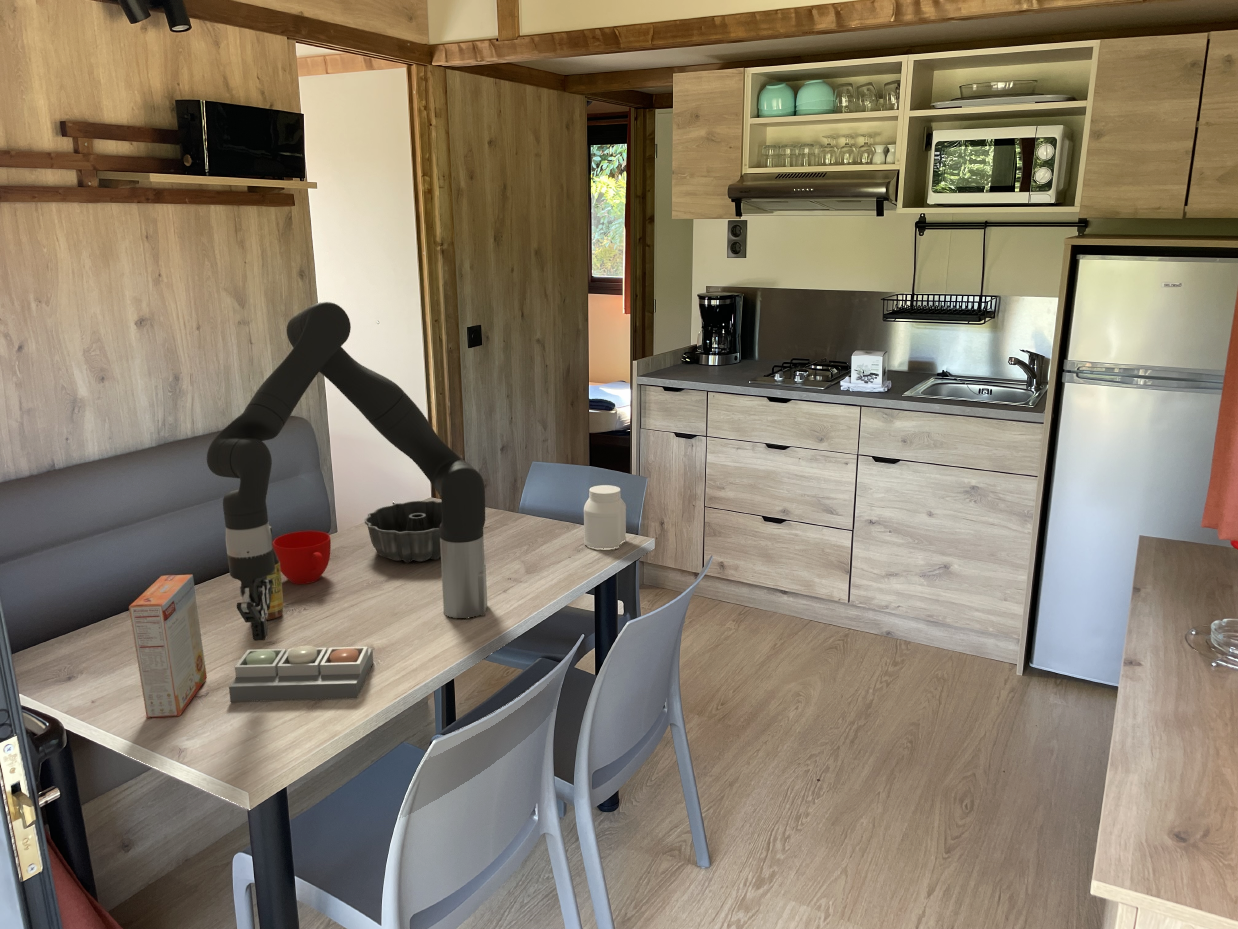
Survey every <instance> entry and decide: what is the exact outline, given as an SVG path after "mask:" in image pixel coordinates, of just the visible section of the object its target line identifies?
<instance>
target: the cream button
mask: <svg viewBox="0 0 1238 929" xmlns="http://www.w3.org/2000/svg"><path fill="white" fill-rule="evenodd" d="M316 648H317V647H316V646H314V645H300V646H295V647H293V648H290V649H291V650H290V651H289V652H288V661H289V663H290V664H309V663H312V662H314V661H315V660H316V659H317V649H316Z"/></svg>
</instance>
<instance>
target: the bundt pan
mask: <svg viewBox="0 0 1238 929" xmlns="http://www.w3.org/2000/svg"><path fill="white" fill-rule="evenodd" d="M441 523H442V502H441V501H437V500H433V499H431V500H411V501H406V502H402V503H401V502H399V503H398V502H397V503H396V502H395V503H394V504H391V505H385V506H382V507H380V508H376V509H375V510H374V511H373V512H370V513H367V516H366V518H364V524H365V525H366V526H367V530H368V533H369V538H370V541H371V545H372V547H373V548H374V550H375V552H376V553H378V555H379V556H380V557H383V558H385V559H390V560H392V561H402V560H403V561H404V563H407V562H408V563H410V562H412V561H413V560H414V561H417V562H426V561H427V560H429V559H431V560H433V559H435V560H434V561H436V560H438V559H440V558H441V550H440V531H439V527H440V524H441Z"/></svg>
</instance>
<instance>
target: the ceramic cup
mask: <svg viewBox="0 0 1238 929" xmlns="http://www.w3.org/2000/svg"><path fill="white" fill-rule="evenodd" d="M272 544H273V548H274V550H275V553H276V555H277V557H278V559H279V561H280V569H281V575H283V576H284V577H285V578H286V579H288V580H289V581H290V582H291V583H292V584H295V585H305V584H306V585H307V584H311V583H315V582H317V581H319V579H320V578H321V576H323V574H324V573H325V571H326V569H327V567H328V566H329V562H330V559H331V549H332V548H331V546H332V544H331V536H330V534H329V533H327V532H324V531H318V530H303V531H302V530H301V531H294V532H289V533H285V534H282V535H280V536H278V537H276V538H275V539H274V540H272Z"/></svg>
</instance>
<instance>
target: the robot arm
mask: <svg viewBox="0 0 1238 929" xmlns="http://www.w3.org/2000/svg"><path fill="white" fill-rule="evenodd" d="M350 333H351V320H350V317H349V315H348V314H347V312H346V310H344V308H343V307H342V306H340V305H339V304H336V303H335V302H331V301H322V302H317V303H315V304H311V305H309V307H306V308H305V309H304V310H301V312H299V313H297V314H296V315H294V316H293V317H292V318H290V320H288V322H287V325H286V336H287V339H288V342H289V344H290V345H291V347H292V349H291V351H290V352H289V353H288V354H287V356H286V357H285V358H284V359H283V361H281V363H280V364H279V365H278V366H277V367H276V368H275V369H274V370H273V371H272V372H271V374H270V375H269V376H268V377H267V378H266V379H265V380H264V382H262V384H261V385H260V386H259V387H258V389H257V391H256V392H255V393H254V395H253V397H252V398H251V399H250V401H249V402H248V404H247V406H246V407H245V409H244V410H243V412H242V413H241V414H240V415H238V416H237V417H236V418H234V420H232V421H231V422H230V423H229V424H228V425H227V426H226V427H224V429H222V430H221V431H220V432H219V433H218V434H217V435H216V436H215V437H214V439H213V440H212V441H211V443H210V444H209V447H208V449H207V453H206V464H207V467H208V469H209V470H210V471H211V473H213V474H214V475H216V476H218V477H222V478H232V479H239V480H240V481H239V488H238V489H234V490H231V491H229V492H227V493H226V494H225V495H224V496H223V498H222V509H223V516H224V526H225V546H226V553H227V554H226V555H227V563H228V569H229V575H230V577H231V578H232V579H235V580H237V581H239V582H240V586H239V594H240V597H241V598H242V601H241V602H237V603H236V609H237V611H238V613H239V615H240V616H241V617H242V619H243V621H244V623H248V624H249V623H250V625H251V633H252V640H253V641H257V642H258V641H260V642H261V641H265V640H266V638H268V636H269V633H268V623H267V620H266V617H267V615H268V613H267V610H270V603H271V593H272V584H273V580H272V579H267V576H268V575H270V574H271V573H273V572H274V570H275V563H274V554H273V545H272V544H273V537H272V534H271V531H270V527H269V526H270V524H269V523H270V522H269V516H268V515H269V514H268V508H267V506H268V505H267V495H268V491H269V490H268V489H269V484H270V483H269V482H270V476H271V472H272V462H273V460H272V454H271V451H270V450H269V448H268V446H267V445H266V444H265V442H264V441H269V440H273V439H275V438H276V437H277V436H279V434H280V432H281V431H282V430H283V428H284V427H285V425H286V423H287V422H288V420H289V419H290V417H291V415H292V413H293V412H294V410H295V409H296V407H297V405H298V403H299V402H300V400H301V399H302V397H303V395H304V394H305V392H306V391H307V389H308V388H309V386H310V385H311V384H312V382H313V381H314V379H315V378H316V377H317V375H318V374H319V373H320V374H321V375H322V376H324V377H325V378H326V379H327V380H328V381H329V382H330V383H332V385H334V387H335V388H336V389H338V390H339V392H340V393H341V394H342V395H343V396H344V397H345V398H346V399H348V401H349V402H350V403H351V404H352V405H353V406H355V408H356V409H357V410H358V411H359V412H360V413H361V415H363V417H364V418H365V419H366V420H367V421H368V422H369V423H370V424H371V425H372V427H373V428H375V429H376V431H378V433H380V435H381V436H382V437H383V438H385V439H386V441H388V442H389V443H390V444H392V446H394V447H395V448H396V449H397V450H399V451H400V452H401V453H403V454H404V455H405V456H407V457H408V458H409V459H410V460H412V462H414V463H415V465H417V467H418V468H419V469H420V470H421V472H422V473H423V474H424V475H425V477H426V478H427V479H428V481H429V482H430V484H431V485H432V486H433V488H434V490H435V491H436V493H437V494H438V495H439V497H440V502H442V523H441V524H440V527H439V531H440V550H441V556H440V566H441V568H440V569H441V585H442V586H441V587H442V606H443V613H444V615H445V616H446V615H447V617H448V616H449V618H451V617H453V618H452V619H457V618H466V619H469V618H468V617H473V616H476V617H479V616H478V615H481V616H486V613H487V609H486V608H488V588H487V585H488V584H487V566H486V564H485V543H484V542H485V541H484V526H485V524H486V489H485V488H486V487H485V481H484V479H483V476H482V474H480V472H479V471H478V470H477V469H475V468H474V467H473V466H472V465H471V464H470V463H469V462H467V461H466V460H464V459H463V458H462V457H461V456H460V455H458V454H457V453H456V452H455V451H454V450H453V449H452V448H450V447H449V446H448V444H446V443H445V442H444V441H443V440H442V439H441V438H440V437H439V435H438V434H437V433H436V431H435V430H434V428H433V426H432V425H431V423H430V422H429V421H428V419H427V417H426V416H425V415H424V413H423V411H422V410H421V409H420V408H419V406H418V405H417V404H416V403H415V402H414V400H412V398H411V397H410V396H409V395H408V394H407V393H406V392H405V390H403V388H401V387H400V386H399V385H398V384H397V383H396V382H394V381H392V380H391V379H389V378H387V377H386V376H384V375H382V374H380V373H378V372H376V371H374V370H372V369H370V368H369V367H366V366H364V365H362V364H361V363H359V362H358V361H357V360H356V359H354V358H353V357H352V356H351V355H350V354H349V353H348V352H347V351H346V350H345V349H344V348H343V345H344V344H345V343H346V342H347V341H348V339H349V337H350ZM485 612H486V613H485ZM473 618H474V617H473Z"/></svg>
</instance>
